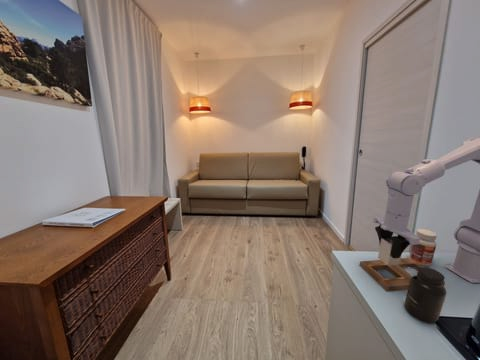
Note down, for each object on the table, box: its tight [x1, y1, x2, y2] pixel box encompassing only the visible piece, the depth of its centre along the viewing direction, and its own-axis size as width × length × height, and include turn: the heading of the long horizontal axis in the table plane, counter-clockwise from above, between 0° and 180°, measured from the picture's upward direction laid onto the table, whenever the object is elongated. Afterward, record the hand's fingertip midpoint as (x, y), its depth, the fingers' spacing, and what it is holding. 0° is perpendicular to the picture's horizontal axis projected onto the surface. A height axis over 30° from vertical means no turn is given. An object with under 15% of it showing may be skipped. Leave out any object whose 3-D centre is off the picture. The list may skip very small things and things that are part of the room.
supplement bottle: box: [403, 266, 447, 324], centre depth 53 cm, size 7×7×12 cm
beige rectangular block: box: [377, 238, 403, 265], centre depth 65 cm, size 4×4×7 cm
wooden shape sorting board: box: [359, 257, 446, 292], centre depth 68 cm, size 19×12×2 cm, turn 97°
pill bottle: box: [409, 228, 438, 267], centre depth 74 cm, size 6×6×11 cm
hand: (389, 253), depth 66 cm, fingers closed on beige rectangular block, 4 cm apart
